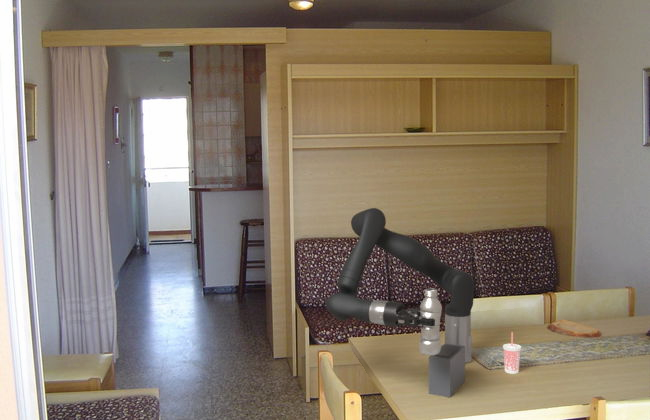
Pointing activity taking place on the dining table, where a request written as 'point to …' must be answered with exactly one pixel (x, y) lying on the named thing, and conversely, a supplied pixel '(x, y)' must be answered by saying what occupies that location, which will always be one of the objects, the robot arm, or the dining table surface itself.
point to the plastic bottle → (430, 334)
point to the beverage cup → (511, 357)
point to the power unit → (447, 370)
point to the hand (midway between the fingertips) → (438, 319)
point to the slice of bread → (573, 329)
